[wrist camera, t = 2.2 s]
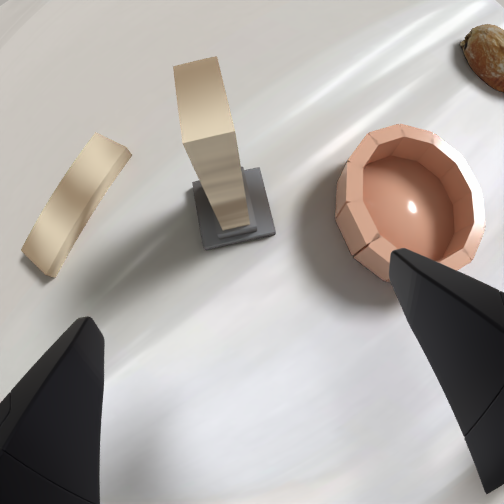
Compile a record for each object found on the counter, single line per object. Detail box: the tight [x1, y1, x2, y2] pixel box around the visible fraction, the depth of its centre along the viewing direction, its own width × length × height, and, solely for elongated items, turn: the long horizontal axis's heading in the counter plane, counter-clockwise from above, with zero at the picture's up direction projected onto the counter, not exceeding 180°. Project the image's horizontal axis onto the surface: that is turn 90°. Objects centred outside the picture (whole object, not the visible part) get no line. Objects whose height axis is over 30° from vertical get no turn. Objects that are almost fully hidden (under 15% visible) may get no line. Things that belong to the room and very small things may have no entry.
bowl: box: [335, 124, 486, 282], centre depth 21 cm, size 11×11×4 cm
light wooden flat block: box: [21, 132, 132, 278], centre depth 24 cm, size 12×4×2 cm, turn 149°
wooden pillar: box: [173, 56, 276, 250], centre depth 17 cm, size 5×5×13 cm
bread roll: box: [460, 24, 504, 93], centre depth 24 cm, size 10×10×8 cm
